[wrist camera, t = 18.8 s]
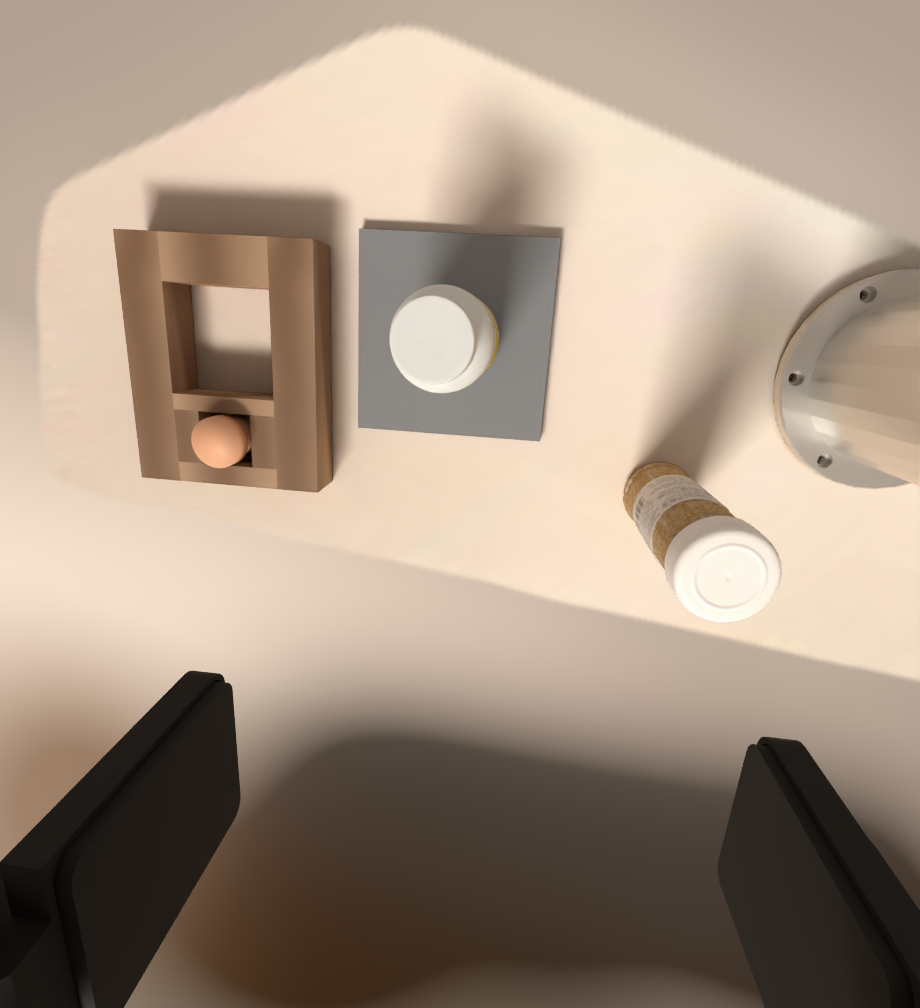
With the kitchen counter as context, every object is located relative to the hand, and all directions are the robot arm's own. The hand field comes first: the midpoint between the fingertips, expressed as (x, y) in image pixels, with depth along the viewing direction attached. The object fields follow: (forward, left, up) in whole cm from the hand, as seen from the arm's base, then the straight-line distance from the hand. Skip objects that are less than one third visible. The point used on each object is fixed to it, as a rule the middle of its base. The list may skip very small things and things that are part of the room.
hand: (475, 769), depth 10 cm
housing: (+18, -4, -28) cm, 34 cm away
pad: (+4, -7, -28) cm, 29 cm away
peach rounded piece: (+18, 0, -28) cm, 33 cm away
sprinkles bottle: (-10, +2, -28) cm, 30 cm away
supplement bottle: (+4, -7, -28) cm, 29 cm away
